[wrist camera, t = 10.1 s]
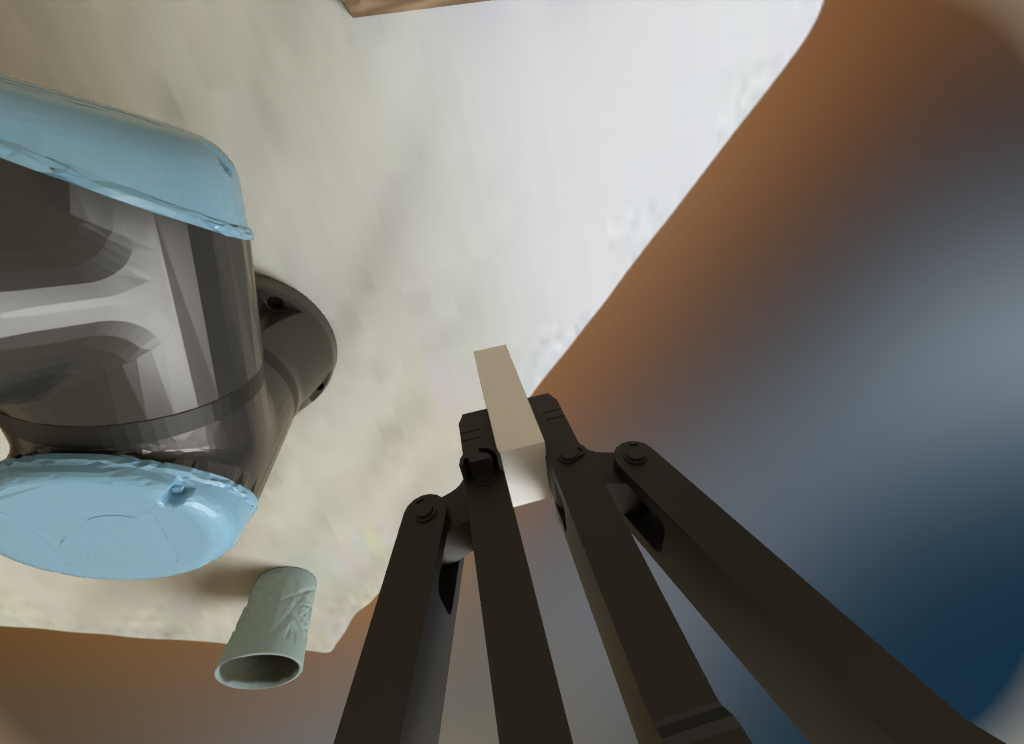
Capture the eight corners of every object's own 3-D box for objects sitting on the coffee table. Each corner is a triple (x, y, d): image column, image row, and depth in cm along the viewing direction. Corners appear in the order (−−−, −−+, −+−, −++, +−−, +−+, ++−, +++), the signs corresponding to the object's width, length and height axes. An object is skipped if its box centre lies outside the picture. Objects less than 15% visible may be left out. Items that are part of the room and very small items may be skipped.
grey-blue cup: (334, 583, 63) (318, 669, 53) (281, 608, 63) (256, 697, 53) (289, 555, 57) (262, 645, 47) (232, 582, 58) (193, 677, 48)
